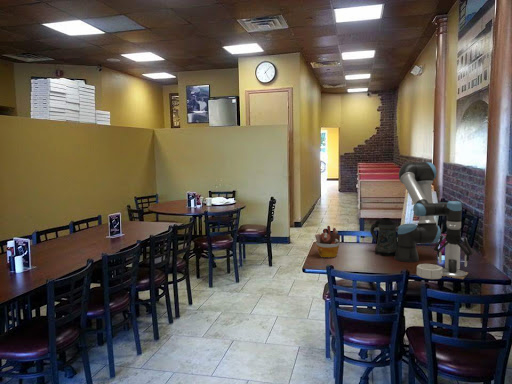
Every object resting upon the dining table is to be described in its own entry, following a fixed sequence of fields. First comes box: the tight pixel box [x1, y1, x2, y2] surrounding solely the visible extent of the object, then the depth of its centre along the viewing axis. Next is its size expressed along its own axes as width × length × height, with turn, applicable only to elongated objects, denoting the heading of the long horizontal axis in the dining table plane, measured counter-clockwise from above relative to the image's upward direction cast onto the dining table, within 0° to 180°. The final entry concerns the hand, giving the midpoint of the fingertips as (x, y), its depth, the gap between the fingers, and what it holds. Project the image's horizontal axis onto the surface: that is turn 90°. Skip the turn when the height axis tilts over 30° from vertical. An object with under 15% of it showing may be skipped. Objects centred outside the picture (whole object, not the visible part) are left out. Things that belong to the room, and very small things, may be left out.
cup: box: [444, 240, 461, 270], centre depth 246 cm, size 8×8×16 cm
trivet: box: [443, 271, 469, 280], centre depth 235 cm, size 14×14×1 cm
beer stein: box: [369, 217, 398, 257], centre depth 283 cm, size 16×19×25 cm
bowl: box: [416, 263, 444, 280], centre depth 233 cm, size 13×13×5 cm
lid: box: [443, 259, 467, 278], centre depth 234 cm, size 14×14×8 cm
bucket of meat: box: [314, 225, 341, 258], centre depth 280 cm, size 20×16×20 cm
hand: (452, 264), depth 234 cm, fingers open, 13 cm apart
